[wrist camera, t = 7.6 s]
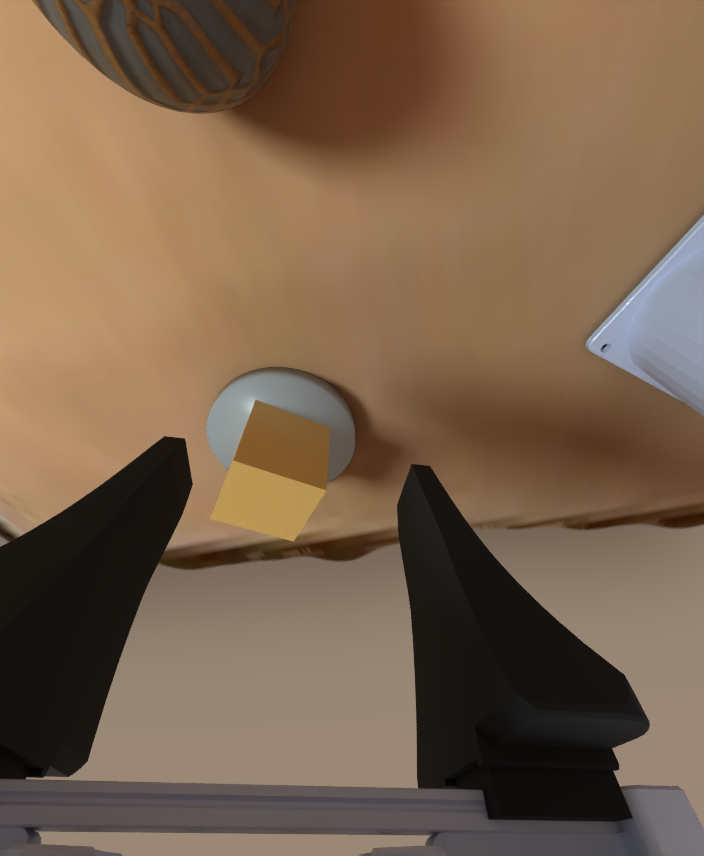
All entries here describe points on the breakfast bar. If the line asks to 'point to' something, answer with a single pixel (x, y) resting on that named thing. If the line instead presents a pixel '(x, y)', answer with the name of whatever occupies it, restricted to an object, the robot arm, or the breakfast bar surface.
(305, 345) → the breakfast bar surface
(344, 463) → the grey disc
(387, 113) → the breakfast bar surface
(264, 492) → the mustard yellow cube
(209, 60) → the vase
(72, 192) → the breakfast bar surface
